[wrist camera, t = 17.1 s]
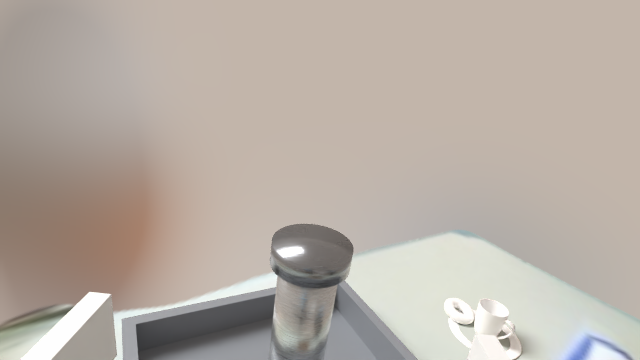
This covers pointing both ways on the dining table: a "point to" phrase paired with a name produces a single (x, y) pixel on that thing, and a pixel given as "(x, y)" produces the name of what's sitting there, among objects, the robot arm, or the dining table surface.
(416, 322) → the dining table surface
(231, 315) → the tray
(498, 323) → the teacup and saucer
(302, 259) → the lock pin
